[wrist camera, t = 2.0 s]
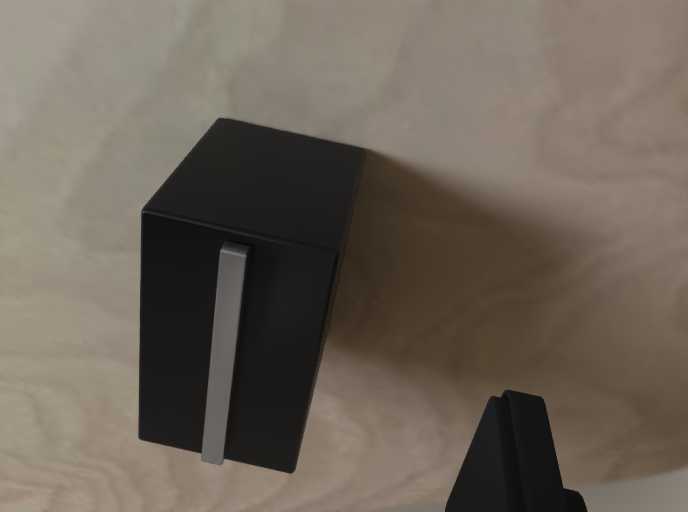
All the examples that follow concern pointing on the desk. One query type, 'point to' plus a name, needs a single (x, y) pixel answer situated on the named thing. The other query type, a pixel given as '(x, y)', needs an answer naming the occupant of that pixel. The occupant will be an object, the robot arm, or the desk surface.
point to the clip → (241, 291)
